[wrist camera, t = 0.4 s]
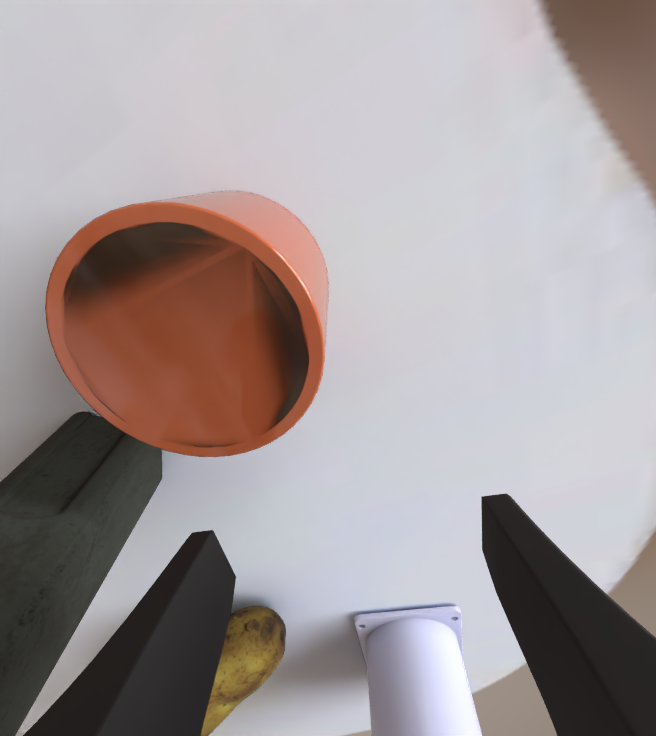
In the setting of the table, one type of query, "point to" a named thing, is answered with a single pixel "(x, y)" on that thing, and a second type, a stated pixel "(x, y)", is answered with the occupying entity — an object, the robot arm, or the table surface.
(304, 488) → the table surface
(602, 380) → the table surface
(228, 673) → the potato
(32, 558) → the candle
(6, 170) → the table surface
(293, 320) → the flower pot
